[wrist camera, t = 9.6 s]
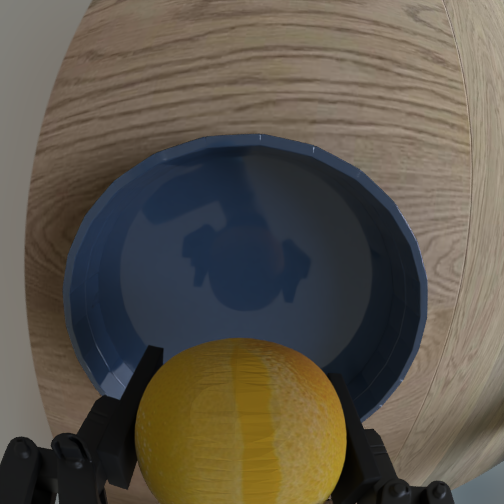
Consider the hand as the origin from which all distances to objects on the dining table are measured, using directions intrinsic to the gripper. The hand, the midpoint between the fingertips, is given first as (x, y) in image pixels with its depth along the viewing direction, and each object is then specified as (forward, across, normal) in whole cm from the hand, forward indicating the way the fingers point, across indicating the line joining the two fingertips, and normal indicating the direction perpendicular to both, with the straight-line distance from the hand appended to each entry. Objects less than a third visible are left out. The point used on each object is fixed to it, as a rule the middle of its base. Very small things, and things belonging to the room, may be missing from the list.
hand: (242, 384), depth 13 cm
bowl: (+8, 0, 0) cm, 8 cm away
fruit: (0, 0, 0) cm, 0 cm away
